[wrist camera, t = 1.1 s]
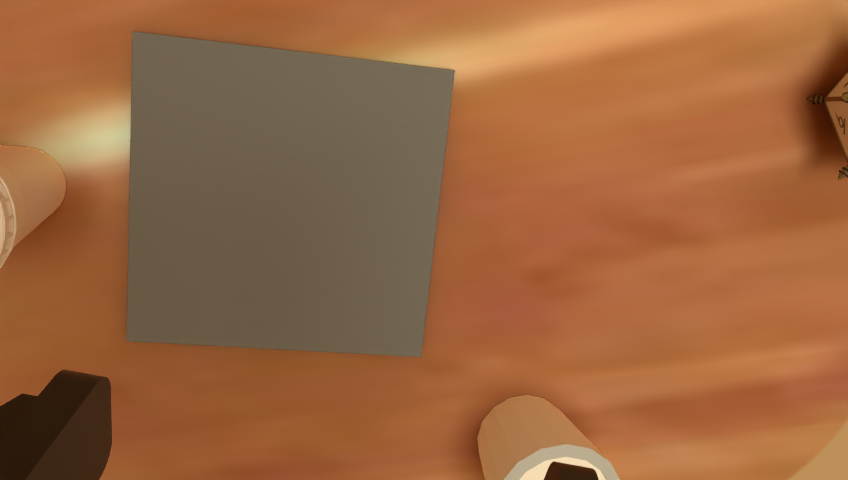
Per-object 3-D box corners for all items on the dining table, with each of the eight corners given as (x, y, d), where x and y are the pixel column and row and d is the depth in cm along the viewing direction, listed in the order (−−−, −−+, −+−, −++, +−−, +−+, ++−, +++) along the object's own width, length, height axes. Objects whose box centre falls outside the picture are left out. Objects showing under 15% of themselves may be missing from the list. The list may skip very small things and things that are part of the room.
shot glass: (447, 465, 41) (470, 540, 34) (499, 368, 40) (533, 426, 33) (543, 502, 42) (583, 581, 36) (595, 409, 41) (647, 472, 35)
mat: (129, 337, 36) (126, 341, 36) (135, 32, 33) (132, 31, 33) (420, 353, 39) (421, 357, 38) (453, 70, 36) (454, 70, 35)
